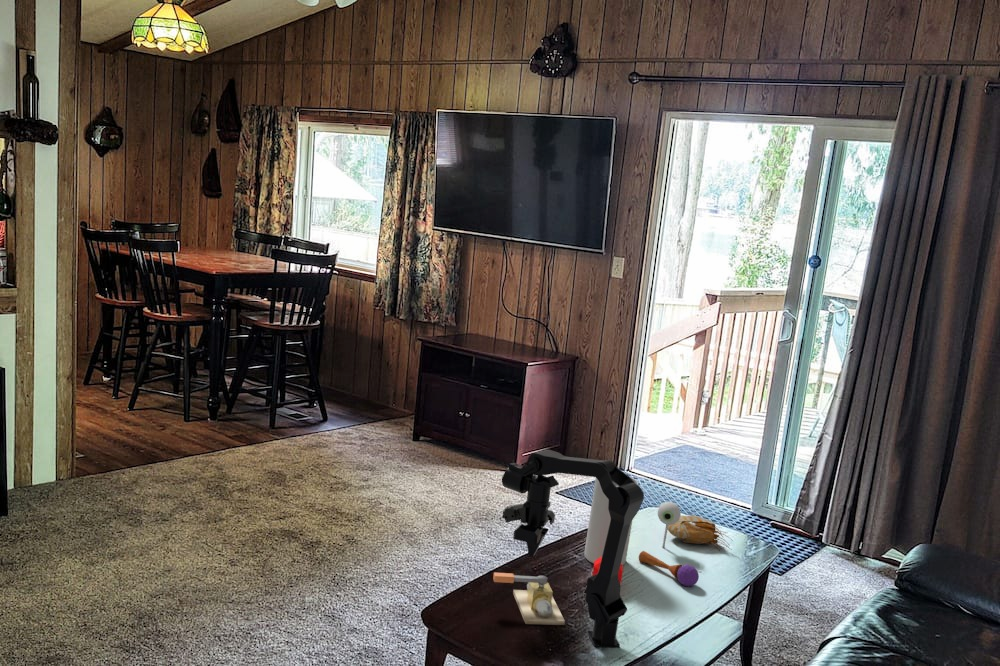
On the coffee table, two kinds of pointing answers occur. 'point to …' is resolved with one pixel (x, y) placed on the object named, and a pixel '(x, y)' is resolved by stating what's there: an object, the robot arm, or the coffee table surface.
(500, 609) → the coffee table surface
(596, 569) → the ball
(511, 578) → the valve lever
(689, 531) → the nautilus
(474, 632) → the coffee table surface
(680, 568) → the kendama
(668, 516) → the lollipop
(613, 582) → the robot arm
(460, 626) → the coffee table surface
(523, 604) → the valve board
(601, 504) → the cylinder vase
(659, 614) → the coffee table surface
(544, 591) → the valve
